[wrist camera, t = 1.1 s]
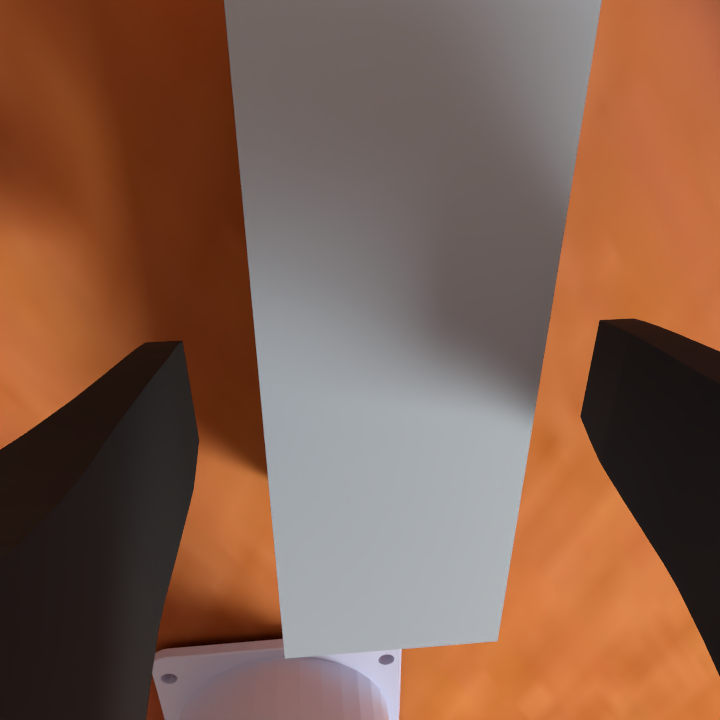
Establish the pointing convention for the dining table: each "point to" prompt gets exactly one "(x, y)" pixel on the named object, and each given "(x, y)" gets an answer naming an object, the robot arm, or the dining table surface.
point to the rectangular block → (402, 294)
